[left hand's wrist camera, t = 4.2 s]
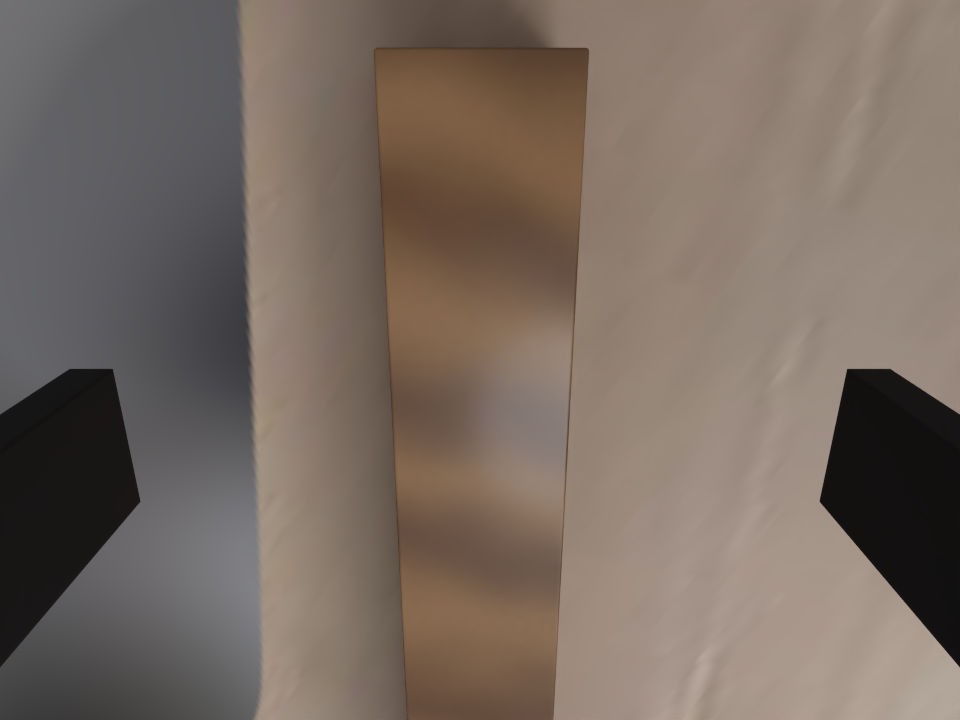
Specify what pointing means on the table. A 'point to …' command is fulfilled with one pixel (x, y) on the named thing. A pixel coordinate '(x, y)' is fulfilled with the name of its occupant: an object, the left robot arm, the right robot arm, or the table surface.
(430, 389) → the post
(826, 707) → the table surface
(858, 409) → the left robot arm
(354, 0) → the table surface
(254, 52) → the table surface
